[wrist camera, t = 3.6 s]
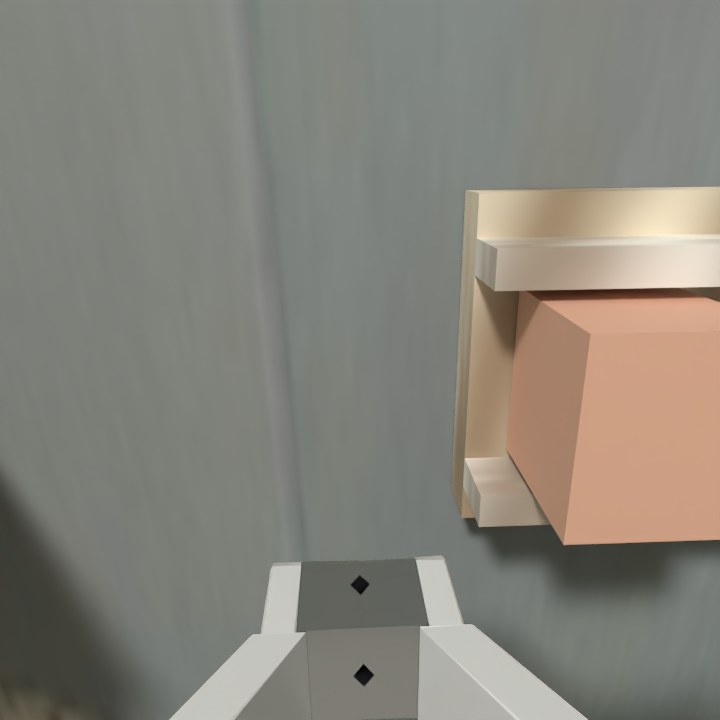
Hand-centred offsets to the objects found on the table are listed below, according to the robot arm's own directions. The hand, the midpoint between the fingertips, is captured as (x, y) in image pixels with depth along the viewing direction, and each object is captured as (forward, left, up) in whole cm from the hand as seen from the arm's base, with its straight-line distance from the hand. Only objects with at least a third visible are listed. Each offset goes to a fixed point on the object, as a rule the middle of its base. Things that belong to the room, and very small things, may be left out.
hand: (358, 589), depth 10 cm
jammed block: (-7, +4, -10) cm, 13 cm away
